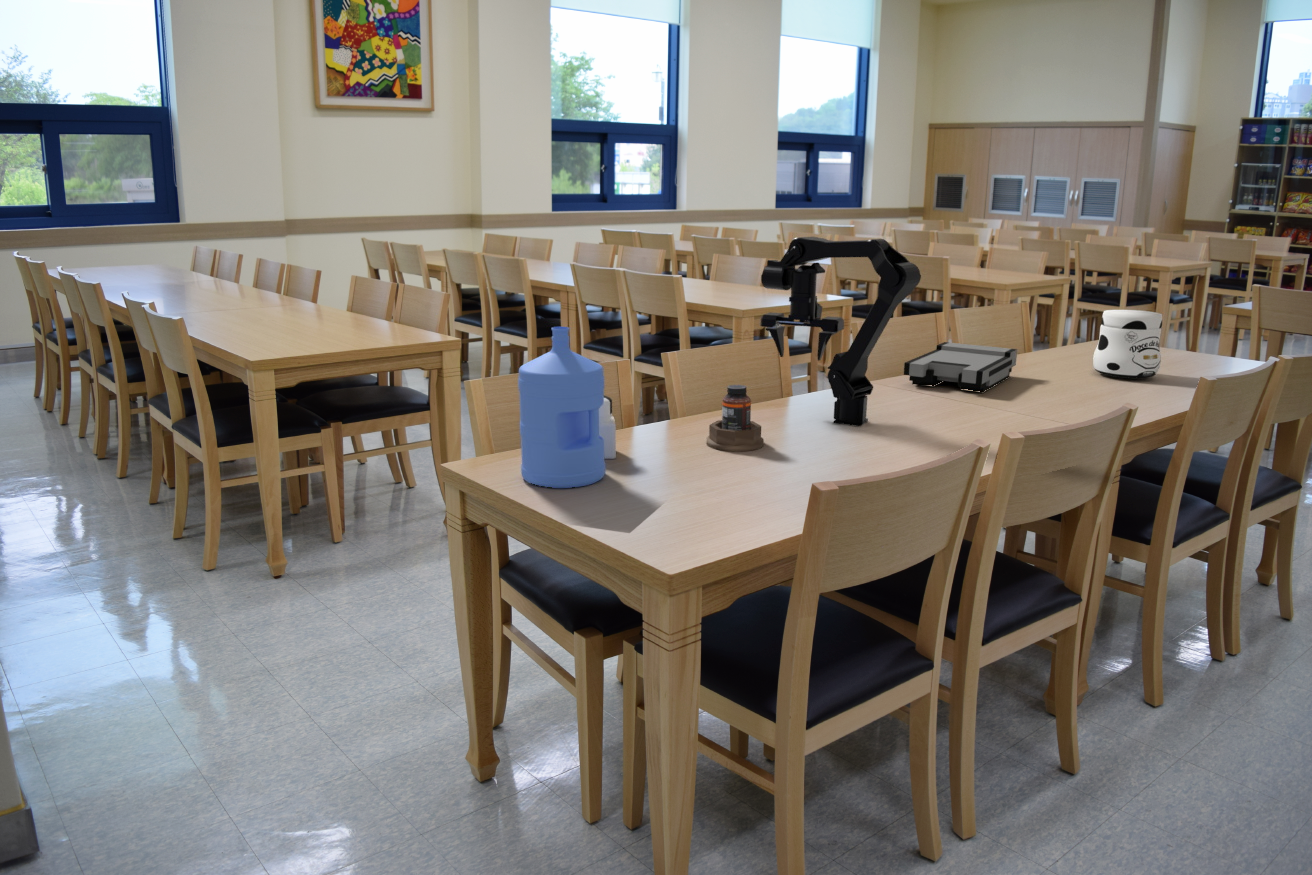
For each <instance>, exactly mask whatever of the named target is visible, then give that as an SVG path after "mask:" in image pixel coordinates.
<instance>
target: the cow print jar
mask: <svg viewBox="0 0 1312 875" xmlns="http://www.w3.org/2000/svg"><path fill="white" fill-rule="evenodd" d="M1100 324H1101V325H1100V327H1099V339H1098V343H1097V346H1096V348H1095V349H1094V353H1093V356H1092V358H1093V359H1092V362H1093V363H1092V364H1093V365H1092V366H1093V368H1094V370H1095V371H1096V372H1097V373H1099V374H1102V375H1105V376H1107V377H1113V378H1120V379H1133V380H1134V379H1136V380H1138V379H1147V378H1151V377H1154V376H1156V375H1157V373H1158V372H1159V370H1160V368H1161V362H1162V357H1161V356H1162V355H1161V350H1160V345H1161V344H1160V341H1161V336H1162V326H1163V314H1162V313H1159V312H1155V311H1151V310H1150V311H1148V310H1139V309H1106V310H1103V313H1102V316H1101V323H1100Z"/></svg>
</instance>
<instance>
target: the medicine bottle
mask: <svg viewBox="0 0 1312 875" xmlns="http://www.w3.org/2000/svg"><path fill="white" fill-rule="evenodd" d="M616 427H617V426H616V421H615V417H614V416H613V400H612V398H611V397H609V396H607V395H604V403H603V405H602V406H601V407H600V408H599V435H600V436H601V437H603V439H604V460H615V459H616V458H617V457H616V456H617V454H616V453H617V451H616V450H617V443H616V442H617V440H616V437H617V436H616V430H617V429H616Z"/></svg>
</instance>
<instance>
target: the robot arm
mask: <svg viewBox="0 0 1312 875" xmlns="http://www.w3.org/2000/svg"><path fill="white" fill-rule="evenodd" d="M830 258H835V259H836V258H838V259H839V258H868V259H869V260H870V262H871V266H872V267H873V269H874V272H875V273H876V274H877V275H878V276H879V277H880V279H879V282H878V283H877V284H878V286H877V297H876V300H875V301H874V303H873V305H872V306H871V308H870V310H869V312H868V314H867V316H866V317H865V320H864V321H863V323H862V325H861V326H860V329H859V330H858V332H857V334H856V336H854V339H853V342H852V343H851V345H850V346H849V348H848V350H846V351H843V352H839V353H838V352H837V353H835V354H834V357H833V358H832V362H831V364H830V365H829V366H828V367H827V369H828V372H827V376H826V377H827V380H828V383H829V385H830V388H831V392H832V395H833V398H836V400H835V401H834V403H833V405H834V408H833V422H832V423H833V424H837V425H845V426H854V427H862V426H864V425H865V424H866V423H867V422H868V421H869V418H867V410H868V409H867V408H868V396H869V395H871V394H872V392H873V390H874V385H873V384H872V383H871V381H870V380H869V378H868V377H867V376H866V373H867V371H868V365H869V364H868V363H869V361H868V360H869V356H870V355H871V353H872V351H873V349H874V347H876V345H877V343H878V341H879V338H880V337H881V335H882V334H883V332H884V330H885V329H886V327H887V325H888V323H889V321H890V320H891V317H892V316H893V314H894V313H895V310H896V309H897V307H898V305H900V304H901V303H902V302H903V301H904V300H906V299H907V297H909V296H910V295H911V294H912V292H913V291H914V290H915V288H917V286H918V285H919V283H920V282H921V279H922V275H921V272H920V269H919V267H918V266H917V265H916V263H914V262H911V261H909V260H908V259H907V257H906V256H904V255H903V254H902V253H901V252H899V251H898V250H896V249H895V248H894V247H893V246H892V245H891V244H890V243H889V242H888V241H887V240H886V239H884V238H873V239H866V240H865V239H863V240H861V239H860V240H858V239H857V240H830V239H827V238H823V237H819V236H801V237H800V236H799V237H795V238H792V240H791V241H790V243H789V246H788V249H787V250H786V252H785V254H784V255H783V256H782V257H781V259H780V260H778V259H768V260H767V261H766V263H767V264H766V266H765V267H764V269H763V271H762V273H761V274H760V276H761V277H760V280H761V285H762V286H763V287H764V289H767V290H768V289H770V290H778V291H779V290H780V291H789V290H790V296H789V298H788V302H790V306H789V309H790V310H789V314H788V316H785V315H784V313H783V312H782V313H781V312H768V313H764V314H762V315H761V318H760V327H761V328H762V327H763V328H765V331H768V332H769V334H770V336H771V337H772V339H773V342H774V344H775V347H776V349H777V351H778V354H779V357H780V358H783V357H784V353H785V343H784V342H785V340H784V339H785V338H784V336H785V335H784V333H785V328H786V326H798V327H810V328H811V327H812V328H820V329H821V331H820V332H819V333H818V340H817V342H818V343H817V361H818V362H819V361H821V359H822V358H823V355H824V352H825V350H826V347H827V345H828V342H829V341H830V339H831V337H832V336H834V335H836V334H838V333H839V332H841V331H842V330H844V329H845V320H844V319H843V317H841V316H825V317H823V318H822V312H823V305H821V304H820V303H819V302H818V296H817V276H818V275H819V274H825V273H826V269H825V268H824V267H823V266H821V264H820V262H818V261H823V260H826V259H830ZM808 263H812V264H811V265H807V264H808ZM797 266H798V267H797ZM796 267H797V268H796Z"/></svg>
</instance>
